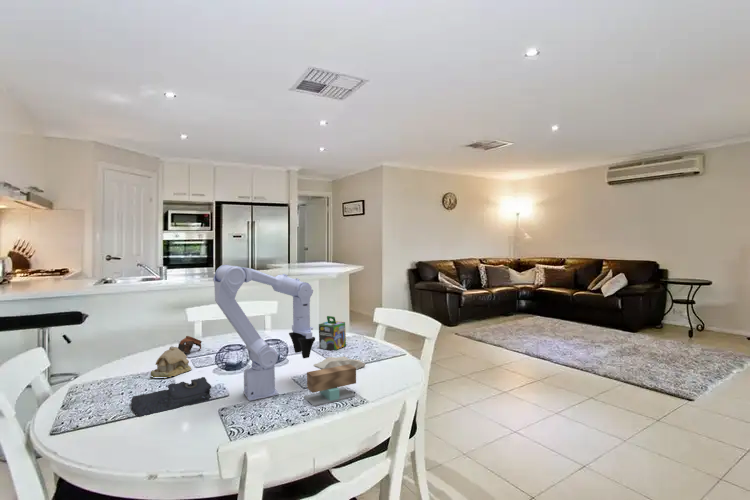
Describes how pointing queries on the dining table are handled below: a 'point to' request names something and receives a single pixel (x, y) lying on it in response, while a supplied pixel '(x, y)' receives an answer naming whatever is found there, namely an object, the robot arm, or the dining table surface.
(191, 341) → the brown curved piece
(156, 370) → the ceramic model
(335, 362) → the rock
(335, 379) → the walnut bar
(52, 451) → the dining table surface
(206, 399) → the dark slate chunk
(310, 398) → the board
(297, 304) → the robot arm
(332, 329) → the chalk box
